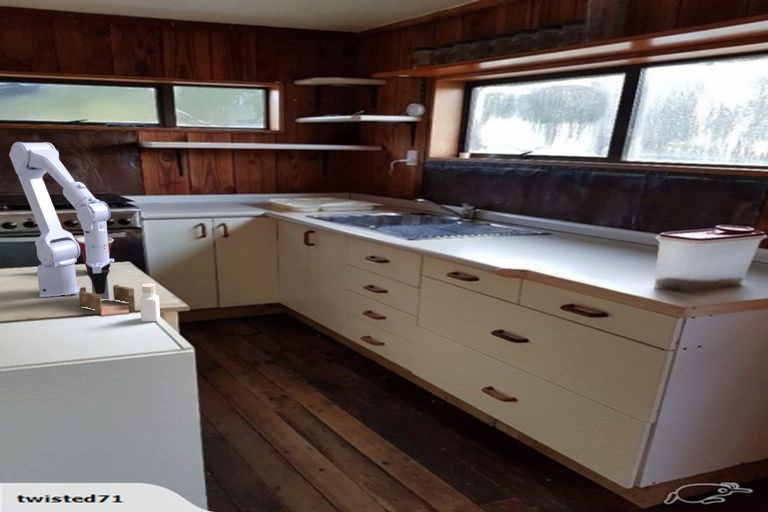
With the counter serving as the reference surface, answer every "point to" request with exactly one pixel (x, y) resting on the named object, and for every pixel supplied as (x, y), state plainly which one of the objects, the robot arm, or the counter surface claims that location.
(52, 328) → the counter surface
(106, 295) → the slate block
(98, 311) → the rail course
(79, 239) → the plastic cup
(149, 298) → the pepper shaker
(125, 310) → the coaster
